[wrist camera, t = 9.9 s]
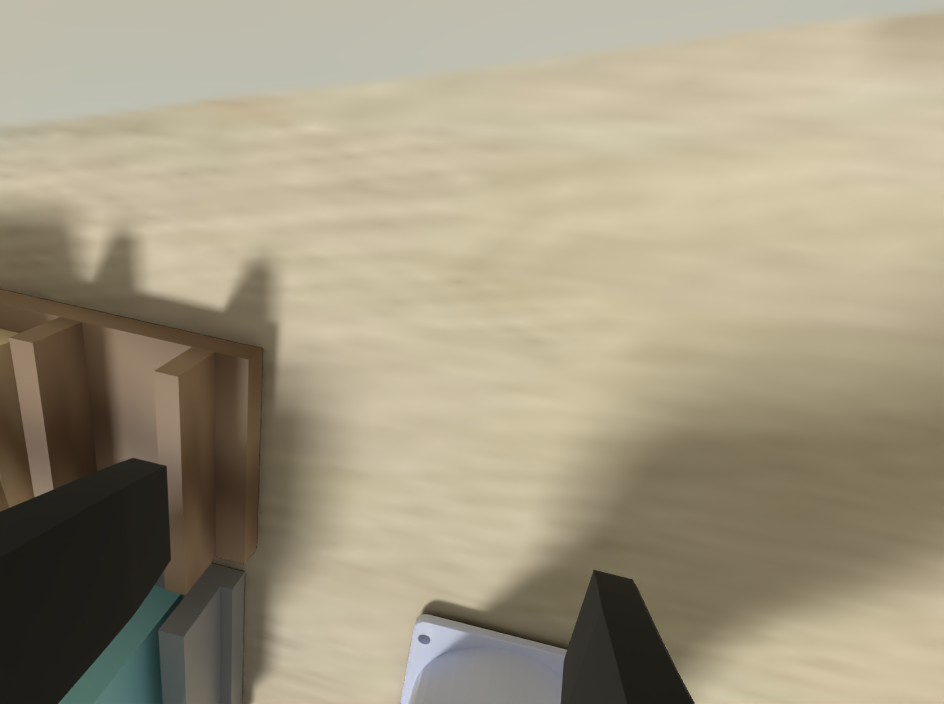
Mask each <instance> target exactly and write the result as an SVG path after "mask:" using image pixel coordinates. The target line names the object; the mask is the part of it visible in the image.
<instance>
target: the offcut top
mask: <svg viewBox="0 0 944 704" xmlns="http://www.w3.org/2000/svg"><path fill="white" fill-rule="evenodd" d="M8 508H9V505H8V502H7V499H6V496H5V493H4V490H3V487H2V484H1V481H0V511H3V510H5V509H8Z"/></svg>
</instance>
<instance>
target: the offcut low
mask: <svg viewBox="0 0 944 704" xmlns="http://www.w3.org/2000/svg"><path fill="white" fill-rule="evenodd" d="M16 334H19V333H16V332H12V331H7V330H3V329H0V481H1V484H2V487H3V490H4V493H5V496H6V499H7V502H8V505H9V508H10V507H13V506H15V505H17V504H20V503H22V502H25V501H27V500H29V499H32V498H34V492H33V485H32V479H31V473H30V467H29V460H28V454H27V448H26V441H25V435H24V429H23V422H22V416H21V410H20V403H19V397H18V391H17V385H16V378H15V372H14V366H13V359H12V353H11V347H10V340H9V337H12V336H14V335H16Z"/></svg>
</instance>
